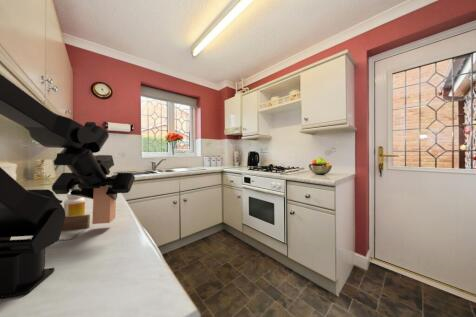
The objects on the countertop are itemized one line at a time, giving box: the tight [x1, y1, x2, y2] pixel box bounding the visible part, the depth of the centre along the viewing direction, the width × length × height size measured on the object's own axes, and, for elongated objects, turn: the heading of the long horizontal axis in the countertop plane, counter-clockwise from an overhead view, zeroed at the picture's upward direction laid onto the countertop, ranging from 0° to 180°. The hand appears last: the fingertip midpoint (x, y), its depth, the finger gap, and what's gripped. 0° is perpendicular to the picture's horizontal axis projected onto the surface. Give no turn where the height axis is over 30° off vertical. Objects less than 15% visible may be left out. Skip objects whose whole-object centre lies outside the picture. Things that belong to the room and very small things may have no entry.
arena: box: [58, 214, 91, 242], centre depth 50 cm, size 9×9×4 cm
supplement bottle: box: [63, 192, 86, 216], centre depth 62 cm, size 5×5×10 cm
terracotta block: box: [91, 185, 117, 225], centre depth 55 cm, size 4×4×13 cm
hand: (107, 198), depth 56 cm, fingers closed on terracotta block, 5 cm apart
